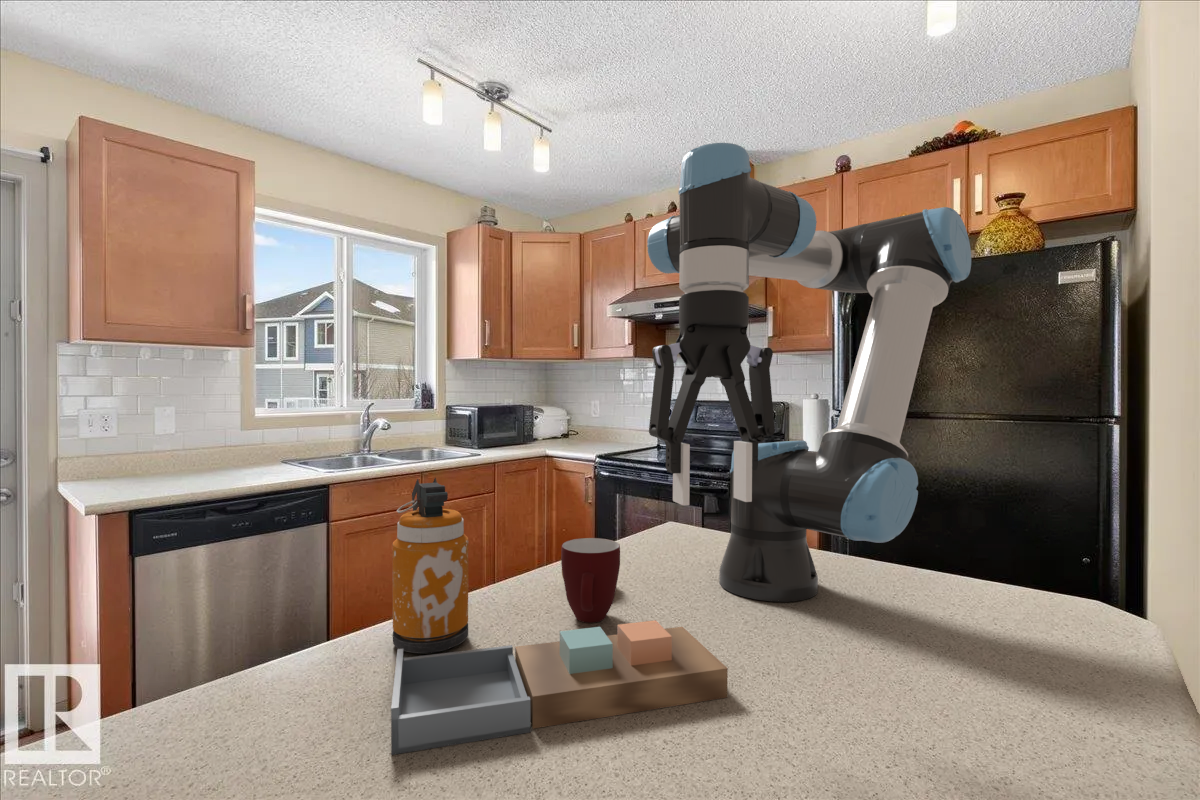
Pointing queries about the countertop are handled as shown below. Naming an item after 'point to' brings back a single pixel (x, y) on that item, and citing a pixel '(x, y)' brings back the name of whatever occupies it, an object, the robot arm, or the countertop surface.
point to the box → (457, 699)
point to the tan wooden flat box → (618, 682)
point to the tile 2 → (644, 642)
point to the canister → (430, 574)
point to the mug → (590, 576)
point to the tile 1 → (586, 650)
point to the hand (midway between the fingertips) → (712, 501)
